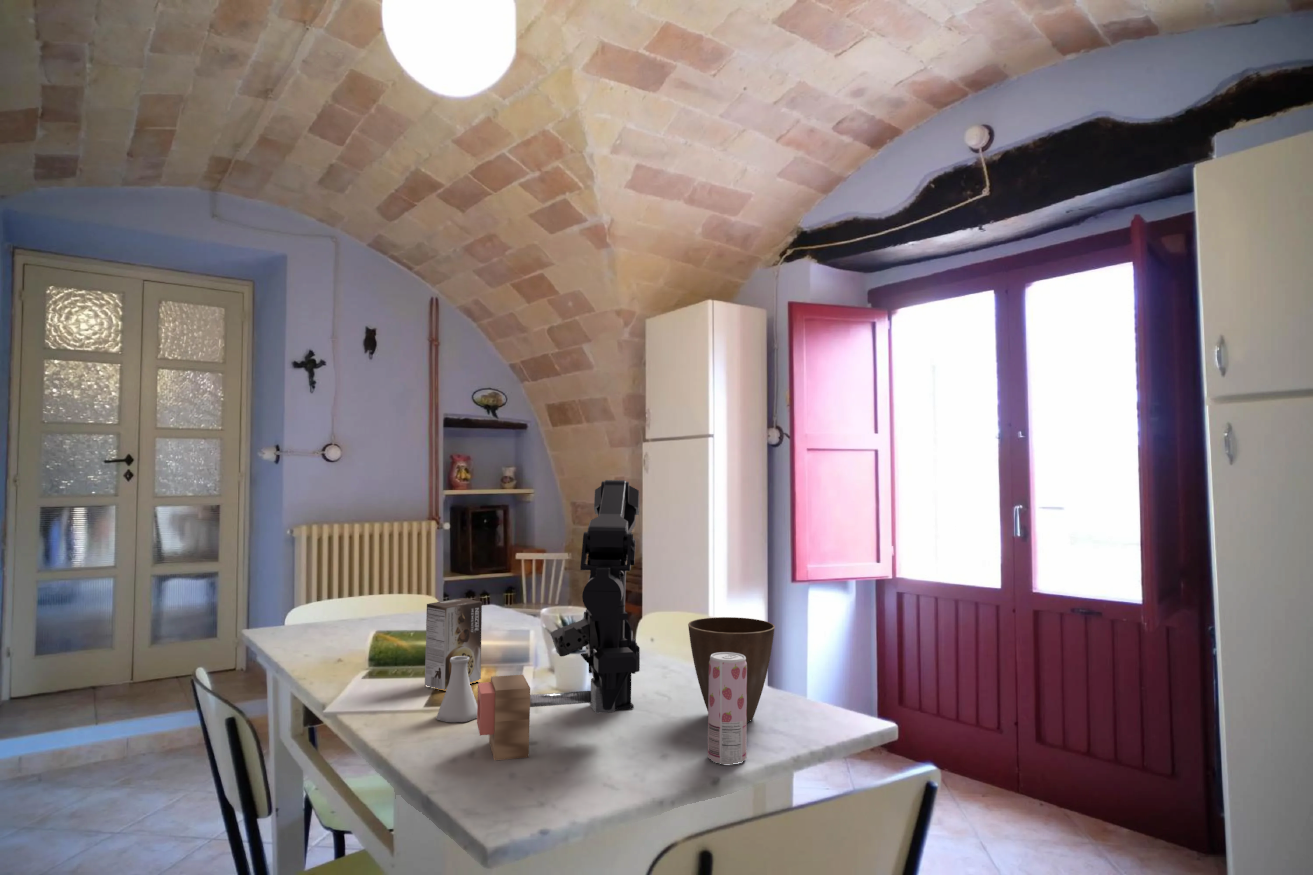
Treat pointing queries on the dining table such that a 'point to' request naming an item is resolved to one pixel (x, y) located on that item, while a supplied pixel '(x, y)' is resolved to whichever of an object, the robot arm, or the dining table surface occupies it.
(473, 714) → the flask
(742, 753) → the beverage can
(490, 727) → the block
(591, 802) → the dining table surface
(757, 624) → the plant pot
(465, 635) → the coffee box
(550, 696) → the shaft
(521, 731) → the block
